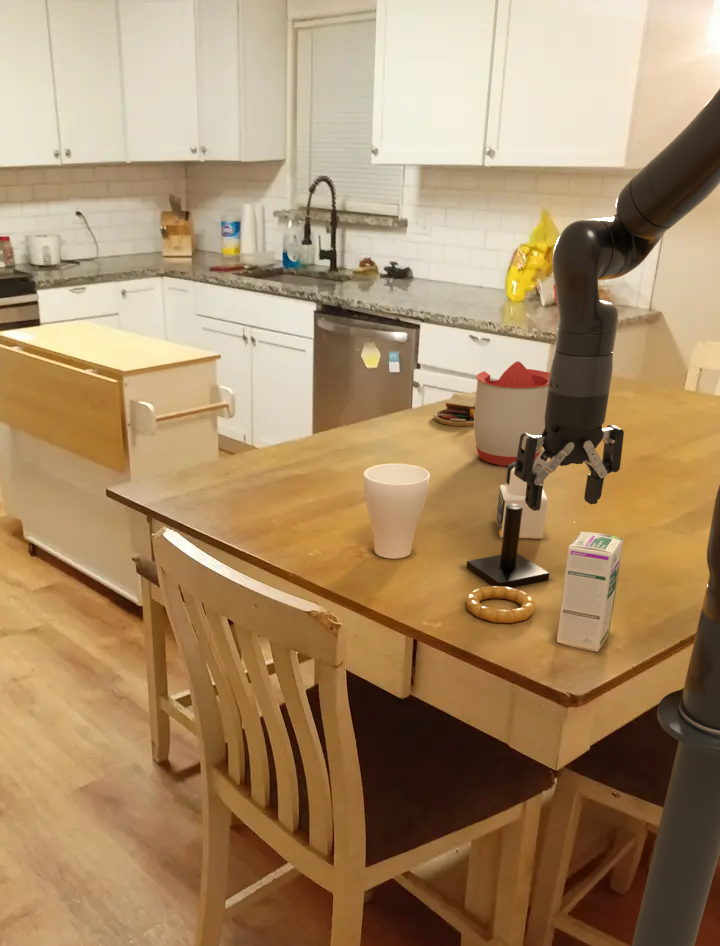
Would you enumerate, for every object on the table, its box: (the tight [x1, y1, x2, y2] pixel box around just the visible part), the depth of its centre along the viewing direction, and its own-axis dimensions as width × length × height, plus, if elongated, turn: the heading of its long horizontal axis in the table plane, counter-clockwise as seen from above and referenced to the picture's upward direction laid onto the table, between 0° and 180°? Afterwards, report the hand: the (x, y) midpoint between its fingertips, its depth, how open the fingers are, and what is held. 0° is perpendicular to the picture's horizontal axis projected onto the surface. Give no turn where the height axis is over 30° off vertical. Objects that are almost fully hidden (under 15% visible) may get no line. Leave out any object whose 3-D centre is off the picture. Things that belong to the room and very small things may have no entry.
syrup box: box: [556, 530, 624, 653], centre depth 126 cm, size 6×6×14 cm
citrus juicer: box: [473, 361, 550, 467], centre depth 194 cm, size 16×17×20 cm
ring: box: [465, 585, 536, 624], centre depth 137 cm, size 10×10×2 cm
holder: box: [465, 504, 550, 588], centre depth 146 cm, size 9×9×11 cm
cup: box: [363, 462, 431, 560], centre depth 154 cm, size 10×10×14 cm
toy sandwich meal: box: [433, 392, 476, 427], centre depth 223 cm, size 12×14×5 cm
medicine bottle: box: [495, 461, 549, 540], centre depth 161 cm, size 7×7×12 cm
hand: (562, 505), depth 130 cm, fingers open, 8 cm apart
